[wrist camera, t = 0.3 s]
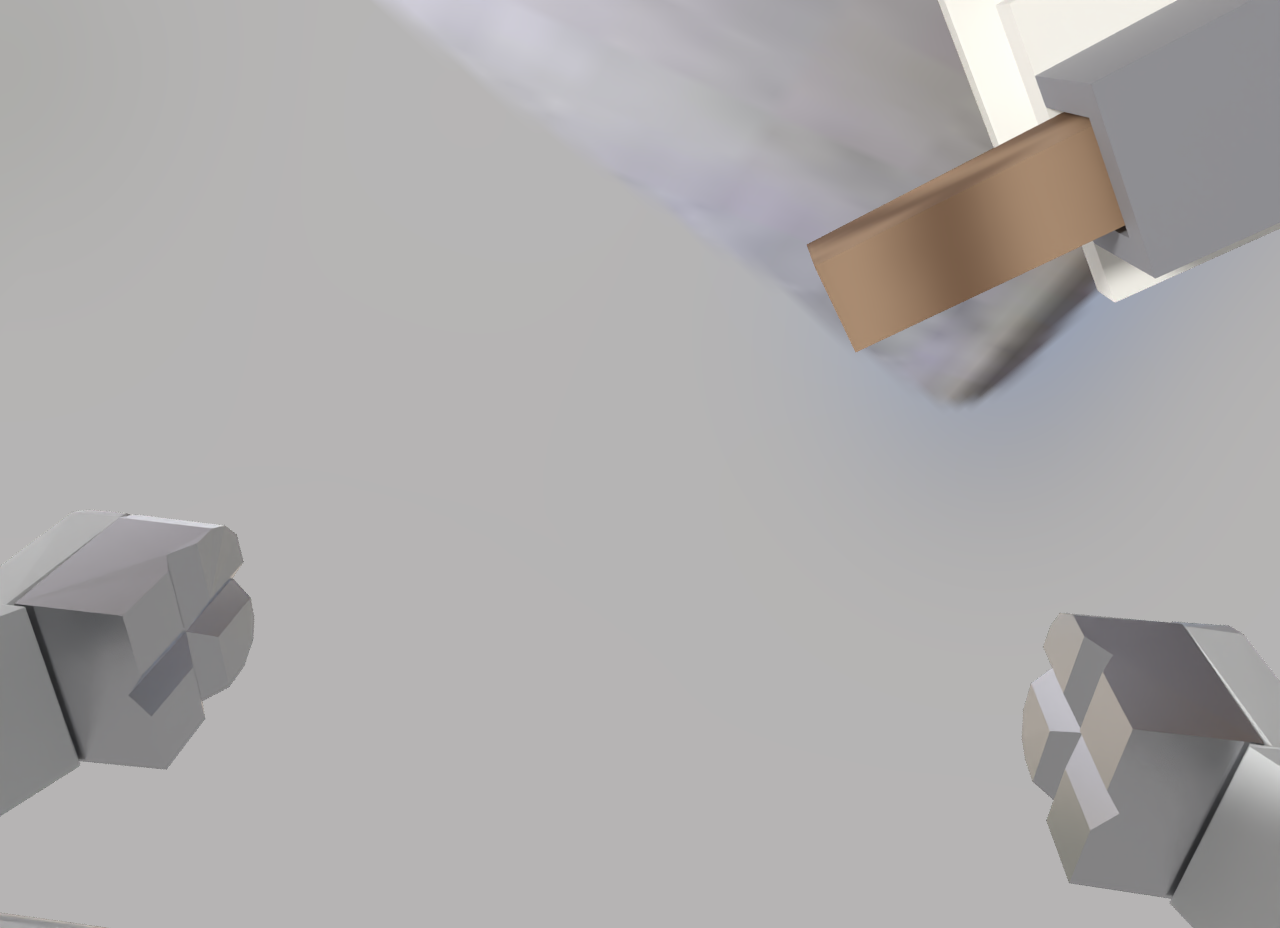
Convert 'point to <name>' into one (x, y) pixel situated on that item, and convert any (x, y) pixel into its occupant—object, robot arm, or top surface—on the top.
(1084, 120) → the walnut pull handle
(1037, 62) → the post
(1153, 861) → the robot arm
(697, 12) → the top surface
